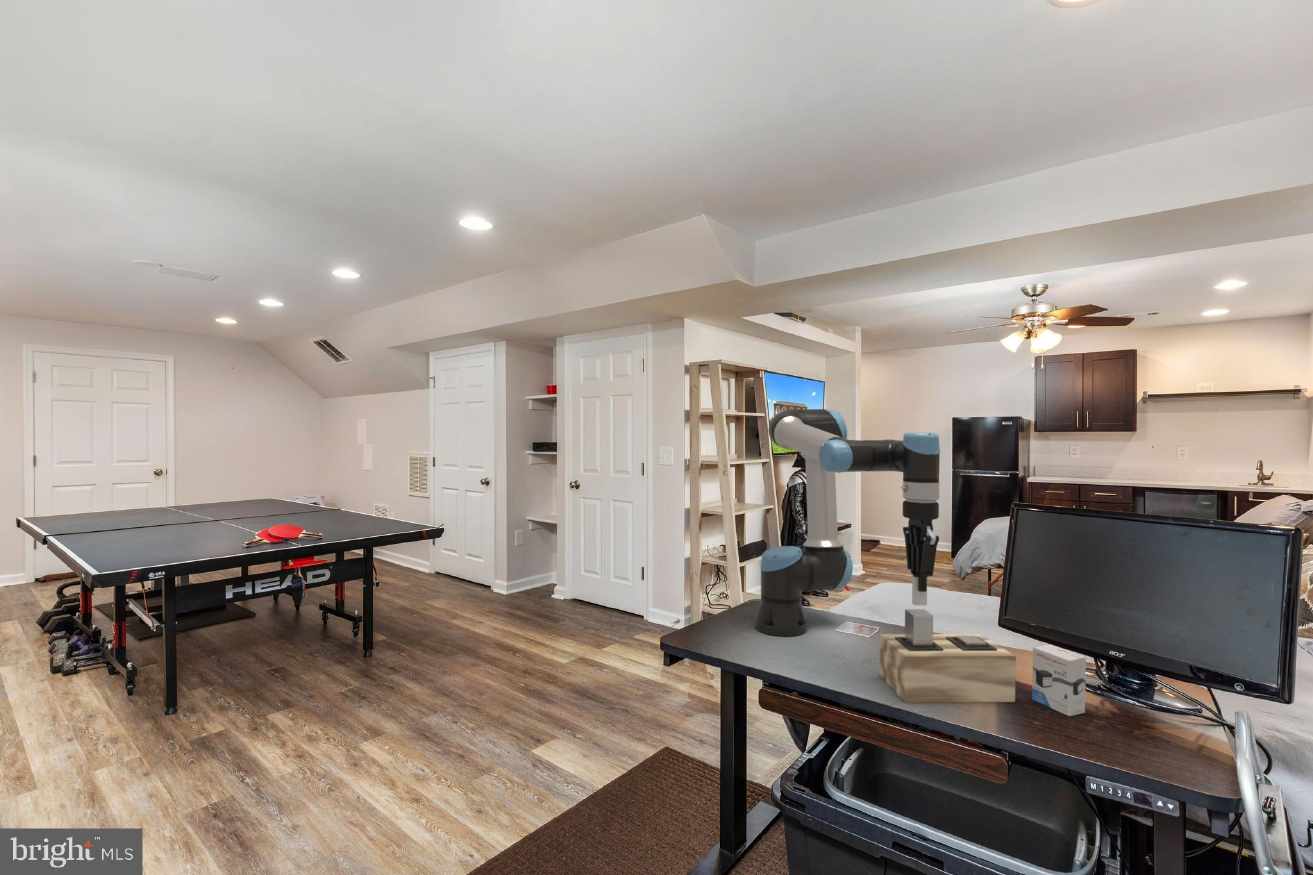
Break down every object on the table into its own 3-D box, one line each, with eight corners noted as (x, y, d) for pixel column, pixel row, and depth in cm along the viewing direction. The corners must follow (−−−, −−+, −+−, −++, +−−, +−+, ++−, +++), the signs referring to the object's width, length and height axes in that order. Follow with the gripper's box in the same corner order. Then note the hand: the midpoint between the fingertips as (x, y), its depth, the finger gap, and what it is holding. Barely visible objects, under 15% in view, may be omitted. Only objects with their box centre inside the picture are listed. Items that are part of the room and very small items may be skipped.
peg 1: (904, 649, 139) (905, 609, 139) (923, 649, 139) (924, 609, 139) (913, 657, 135) (913, 615, 135) (932, 657, 135) (933, 615, 135)
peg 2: (955, 676, 140) (956, 635, 140) (974, 676, 140) (975, 635, 140) (965, 684, 135) (966, 642, 135) (985, 684, 135) (985, 642, 135)
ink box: (1030, 699, 132) (1031, 646, 132) (1046, 696, 134) (1047, 643, 134) (1069, 717, 124) (1070, 660, 124) (1086, 713, 126) (1087, 657, 126)
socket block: (879, 675, 144) (880, 632, 144) (979, 675, 145) (979, 632, 144) (905, 702, 130) (905, 654, 130) (1014, 701, 131) (1015, 654, 131)
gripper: (892, 497, 143) (891, 596, 143) (917, 504, 130) (916, 613, 130) (923, 497, 143) (922, 596, 143) (951, 504, 130) (950, 613, 130)
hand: (919, 604), depth 137 cm, fingers closed
